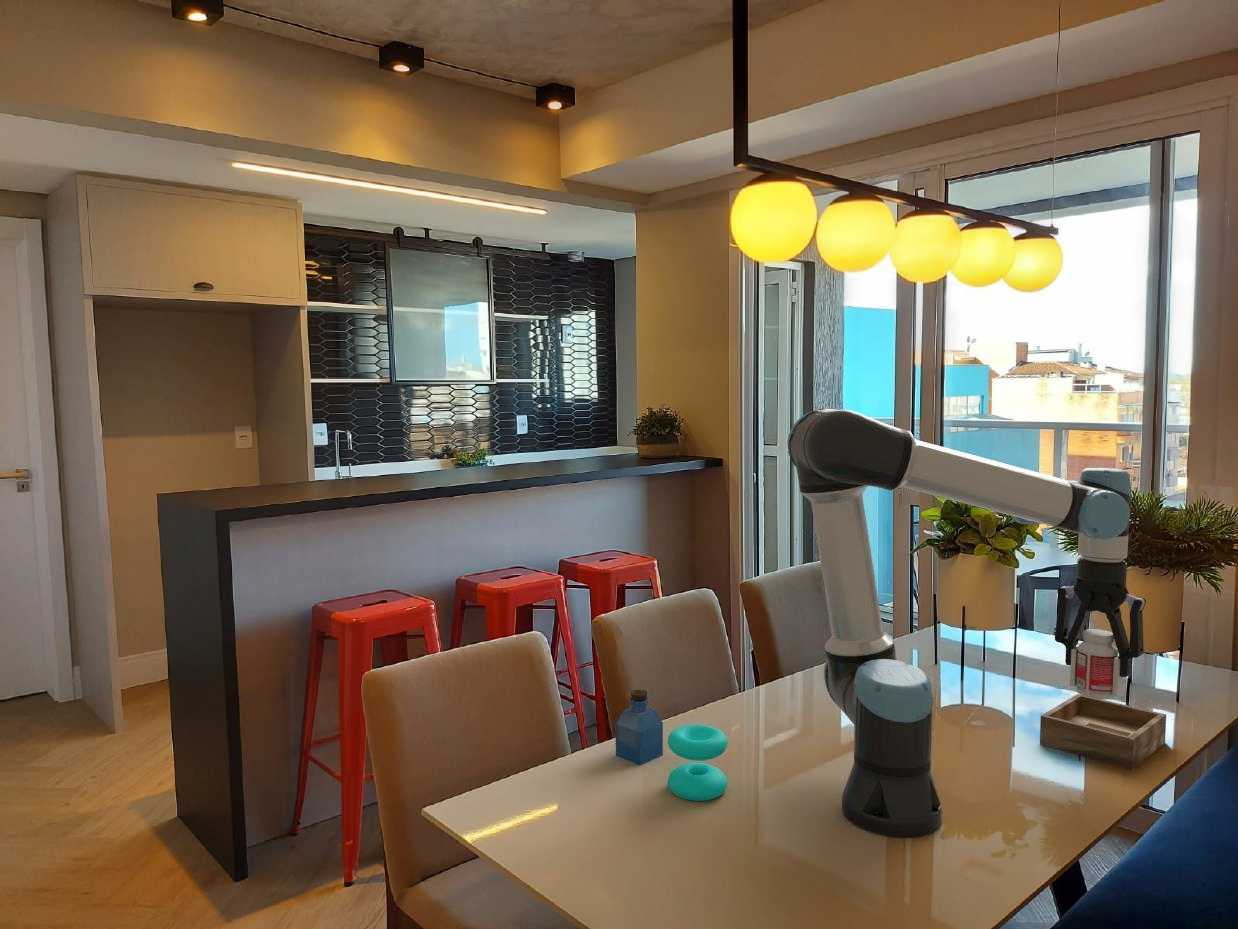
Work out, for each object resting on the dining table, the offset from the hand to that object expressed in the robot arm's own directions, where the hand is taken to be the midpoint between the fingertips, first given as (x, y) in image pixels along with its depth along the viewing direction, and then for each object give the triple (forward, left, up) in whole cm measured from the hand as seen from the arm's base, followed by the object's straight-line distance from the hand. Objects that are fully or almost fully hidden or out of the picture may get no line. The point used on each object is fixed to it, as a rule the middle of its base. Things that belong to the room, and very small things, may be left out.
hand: (1095, 689), depth 154 cm
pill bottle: (0, 0, -1) cm, 1 cm away
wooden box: (+11, +12, -15) cm, 22 cm away
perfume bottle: (-77, +22, -16) cm, 81 cm away
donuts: (-70, +6, -16) cm, 72 cm away
